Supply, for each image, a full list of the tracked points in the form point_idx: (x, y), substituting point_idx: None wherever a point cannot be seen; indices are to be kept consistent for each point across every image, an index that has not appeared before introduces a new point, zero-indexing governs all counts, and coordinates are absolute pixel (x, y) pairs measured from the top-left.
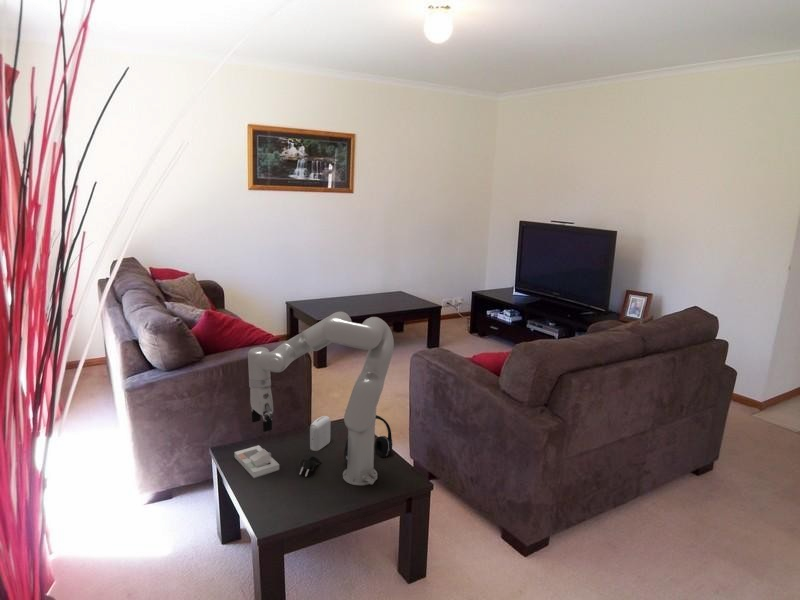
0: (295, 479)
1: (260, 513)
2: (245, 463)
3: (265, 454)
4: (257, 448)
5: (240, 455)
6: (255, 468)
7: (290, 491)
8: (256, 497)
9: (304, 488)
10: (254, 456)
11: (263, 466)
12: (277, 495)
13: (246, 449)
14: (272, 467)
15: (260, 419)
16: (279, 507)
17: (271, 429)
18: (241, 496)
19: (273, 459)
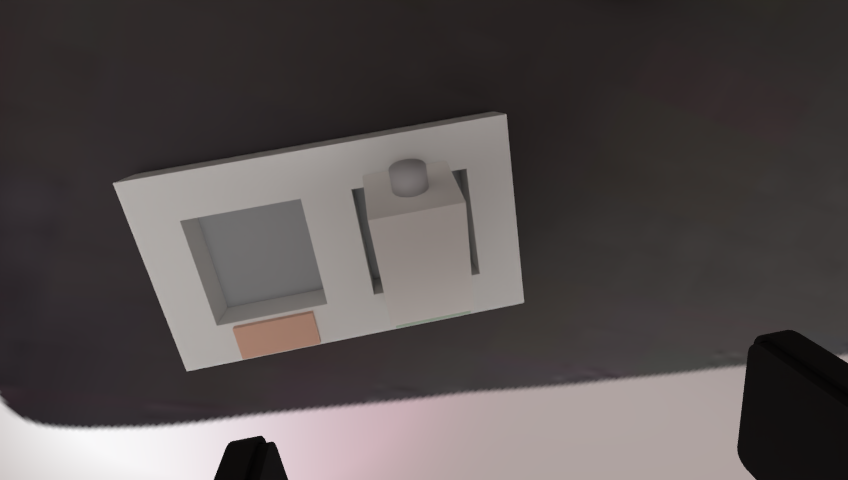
0: (655, 41)
1: (822, 313)
2: (386, 329)
3: (460, 227)
4: (172, 208)
5: (265, 346)
6: (480, 283)
7: (755, 120)
8: (694, 305)
9: (781, 22)
10: (415, 299)
11: (479, 229)
12: (744, 202)
13: (167, 290)
14: (510, 169)
15: (265, 451)
16: (842, 221)
17: (788, 337)
18: (643, 368)
19: (411, 134)
